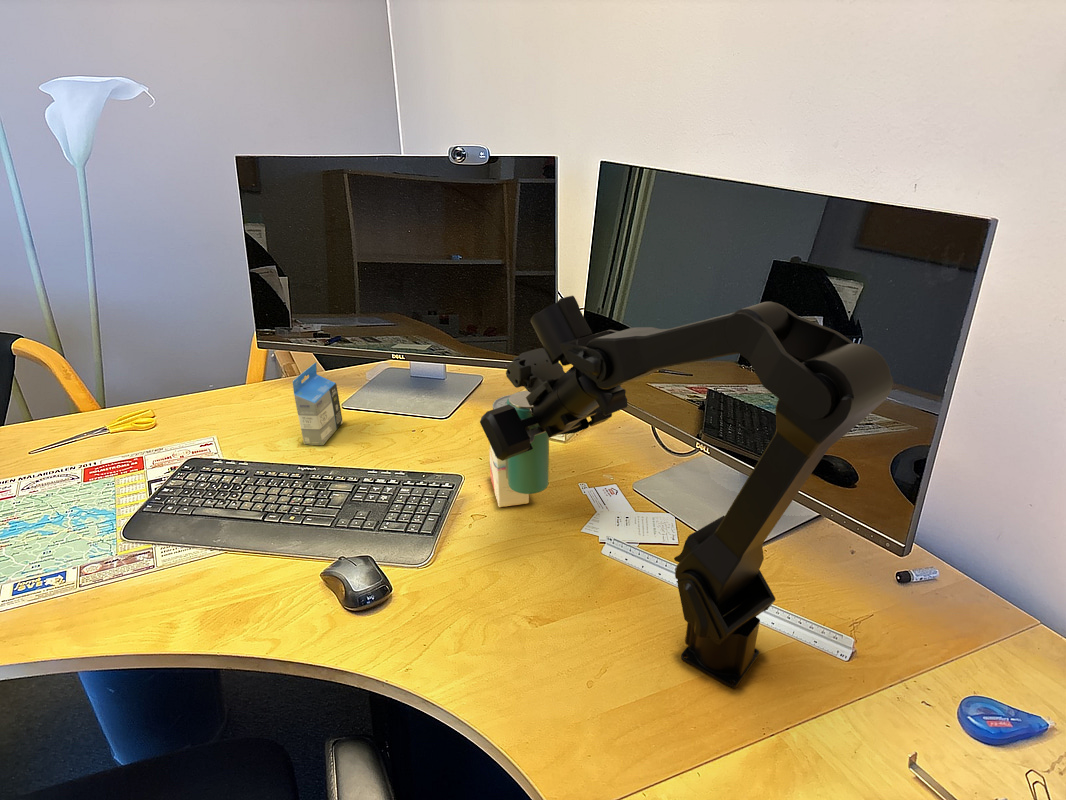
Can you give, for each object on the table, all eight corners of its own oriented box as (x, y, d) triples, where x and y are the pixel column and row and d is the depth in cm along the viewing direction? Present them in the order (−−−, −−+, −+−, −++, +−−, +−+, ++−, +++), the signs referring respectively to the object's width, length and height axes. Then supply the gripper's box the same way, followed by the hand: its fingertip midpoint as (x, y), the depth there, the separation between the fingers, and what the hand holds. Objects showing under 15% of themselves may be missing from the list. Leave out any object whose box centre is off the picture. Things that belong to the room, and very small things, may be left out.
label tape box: (323, 446, 118) (313, 382, 113) (301, 444, 119) (290, 380, 113) (343, 423, 126) (335, 362, 121) (323, 422, 126) (314, 361, 121)
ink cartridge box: (488, 479, 108) (485, 396, 102) (518, 475, 109) (517, 393, 103) (497, 508, 101) (494, 420, 94) (529, 504, 102) (529, 417, 95)
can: (550, 493, 94) (551, 407, 88) (509, 495, 94) (507, 408, 88) (546, 471, 99) (547, 389, 94) (507, 473, 99) (505, 390, 93)
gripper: (602, 322, 89) (548, 373, 102) (486, 353, 79) (442, 406, 91) (641, 396, 87) (581, 439, 99) (527, 438, 76) (476, 480, 89)
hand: (522, 439), depth 95 cm, fingers closed on can, 6 cm apart
